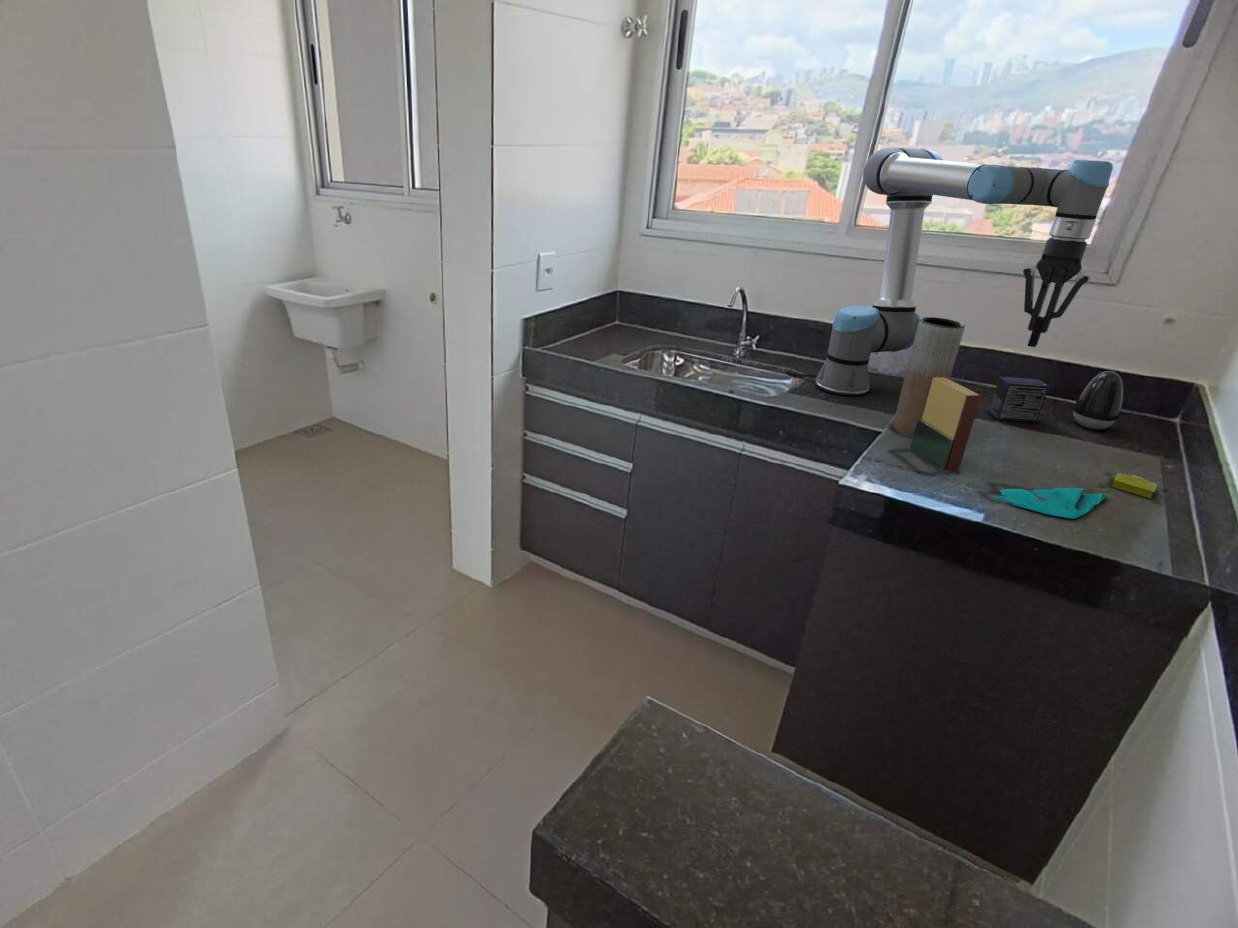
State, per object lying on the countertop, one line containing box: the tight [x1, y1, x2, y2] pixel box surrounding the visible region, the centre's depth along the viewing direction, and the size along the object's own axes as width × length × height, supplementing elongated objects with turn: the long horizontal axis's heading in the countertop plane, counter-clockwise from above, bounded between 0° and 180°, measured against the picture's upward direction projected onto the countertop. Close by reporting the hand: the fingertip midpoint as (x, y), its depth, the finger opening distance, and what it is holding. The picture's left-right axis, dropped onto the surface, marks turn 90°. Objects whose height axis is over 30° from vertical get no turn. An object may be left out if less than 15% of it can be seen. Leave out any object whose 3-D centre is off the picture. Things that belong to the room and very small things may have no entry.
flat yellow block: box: [1111, 472, 1164, 504], centre depth 142 cm, size 10×9×3 cm
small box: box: [988, 376, 1050, 424], centre depth 177 cm, size 11×6×10 cm, turn 84°
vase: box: [892, 316, 966, 436], centre depth 160 cm, size 10×10×28 cm
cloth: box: [993, 486, 1108, 520], centre depth 134 cm, size 26×14×2 cm, turn 84°
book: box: [922, 377, 982, 471], centre depth 146 cm, size 3×12×18 cm, turn 11°
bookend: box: [910, 419, 953, 471], centre depth 147 cm, size 5×12×8 cm, turn 11°
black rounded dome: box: [1072, 370, 1124, 431], centre depth 173 cm, size 10×10×15 cm
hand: (1032, 345), depth 152 cm, fingers closed
